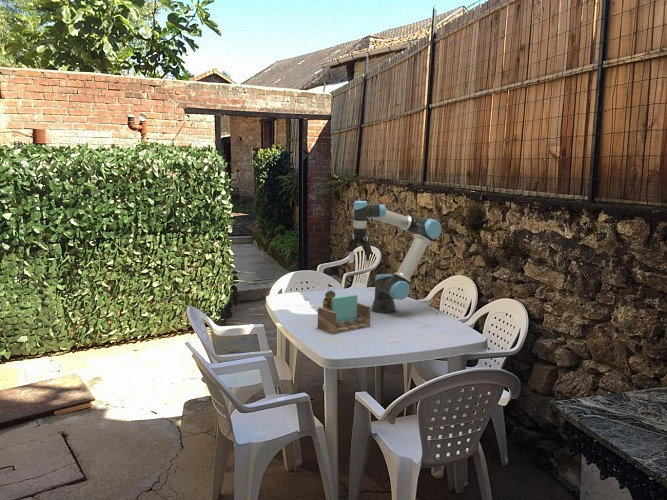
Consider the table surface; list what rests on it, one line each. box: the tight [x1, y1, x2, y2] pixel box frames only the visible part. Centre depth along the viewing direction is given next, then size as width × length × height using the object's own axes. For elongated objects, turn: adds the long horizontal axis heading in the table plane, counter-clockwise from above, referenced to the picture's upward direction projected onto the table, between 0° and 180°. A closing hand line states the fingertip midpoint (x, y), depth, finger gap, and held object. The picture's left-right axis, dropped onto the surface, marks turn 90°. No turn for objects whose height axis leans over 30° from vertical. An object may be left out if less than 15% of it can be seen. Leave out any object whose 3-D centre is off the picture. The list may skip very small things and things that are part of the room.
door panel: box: [332, 294, 358, 322], centre depth 296 cm, size 16×2×16 cm, turn 127°
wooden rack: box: [317, 302, 372, 335], centre depth 296 cm, size 26×14×12 cm, turn 127°
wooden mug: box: [322, 290, 336, 311], centre depth 315 cm, size 9×14×18 cm, turn 7°
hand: (358, 264), depth 310 cm, fingers open, 13 cm apart
